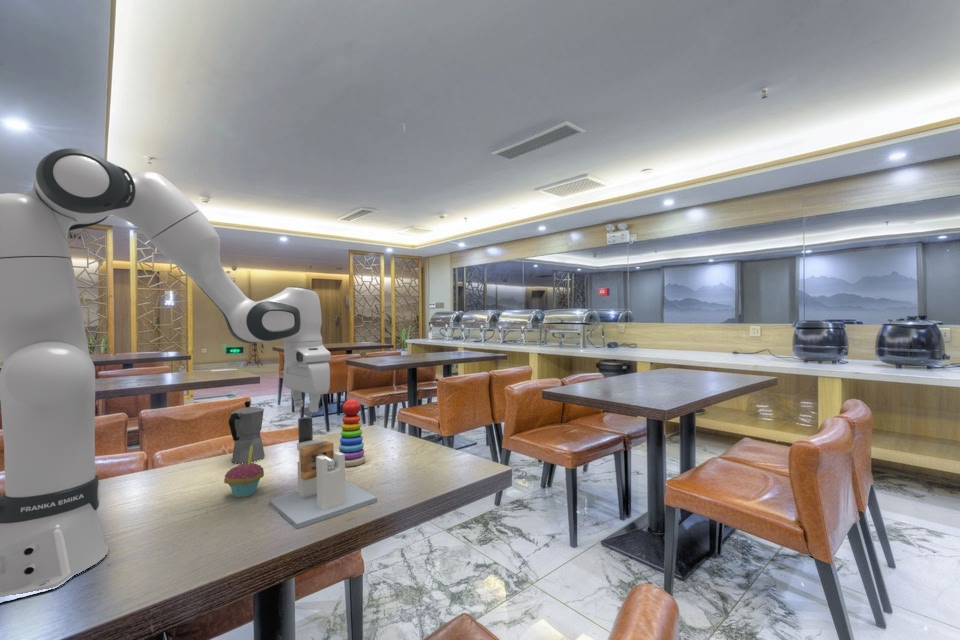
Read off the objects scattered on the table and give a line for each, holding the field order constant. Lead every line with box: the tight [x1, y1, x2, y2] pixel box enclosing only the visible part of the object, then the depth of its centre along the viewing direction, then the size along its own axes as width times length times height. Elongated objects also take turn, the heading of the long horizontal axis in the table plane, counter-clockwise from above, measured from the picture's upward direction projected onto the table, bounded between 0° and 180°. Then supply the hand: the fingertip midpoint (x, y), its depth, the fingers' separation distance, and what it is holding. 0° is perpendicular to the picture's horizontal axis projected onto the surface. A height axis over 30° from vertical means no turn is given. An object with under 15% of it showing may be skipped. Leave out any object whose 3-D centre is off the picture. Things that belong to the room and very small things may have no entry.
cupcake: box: [223, 443, 265, 498], centre depth 105 cm, size 9×8×12 cm
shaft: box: [297, 416, 337, 469], centre depth 101 cm, size 3×17×9 cm, turn 43°
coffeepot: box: [228, 400, 265, 463], centre depth 132 cm, size 15×9×18 cm, turn 178°
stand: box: [268, 438, 378, 529], centre depth 98 cm, size 18×17×13 cm
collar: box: [300, 441, 335, 480], centre depth 100 cm, size 7×2×7 cm, turn 133°
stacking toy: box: [338, 398, 366, 468], centre depth 127 cm, size 8×8×19 cm
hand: (305, 409), depth 106 cm, fingers open, 8 cm apart
